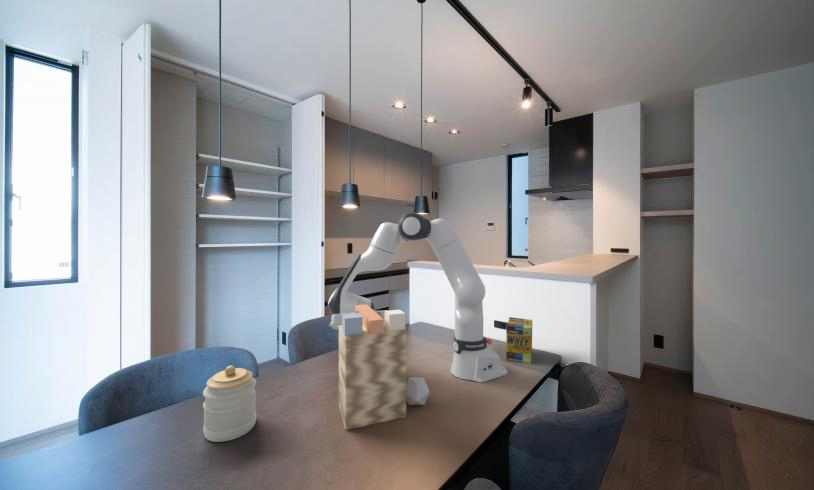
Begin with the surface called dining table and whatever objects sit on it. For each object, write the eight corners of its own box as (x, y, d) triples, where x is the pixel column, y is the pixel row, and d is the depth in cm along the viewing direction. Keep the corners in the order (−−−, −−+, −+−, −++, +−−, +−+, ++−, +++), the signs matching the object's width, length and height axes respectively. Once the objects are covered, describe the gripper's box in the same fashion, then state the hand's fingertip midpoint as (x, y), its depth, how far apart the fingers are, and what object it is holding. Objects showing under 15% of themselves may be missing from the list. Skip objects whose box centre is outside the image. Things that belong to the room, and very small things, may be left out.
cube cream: (399, 325, 99) (399, 309, 99) (405, 329, 94) (405, 313, 94) (384, 326, 97) (384, 310, 97) (389, 331, 92) (389, 314, 92)
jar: (219, 450, 79) (218, 380, 79) (194, 432, 86) (193, 369, 86) (266, 423, 90) (265, 363, 90) (240, 410, 97) (239, 353, 97)
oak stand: (392, 396, 106) (393, 320, 105) (406, 416, 94) (406, 330, 93) (338, 406, 99) (338, 325, 98) (345, 429, 88) (345, 337, 87)
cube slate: (358, 329, 94) (358, 313, 94) (362, 334, 90) (362, 317, 89) (342, 331, 92) (341, 314, 92) (344, 336, 88) (344, 318, 88)
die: (420, 415, 96) (436, 385, 99) (397, 398, 97) (413, 370, 100) (419, 410, 104) (434, 383, 107) (397, 395, 105) (412, 369, 108)
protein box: (505, 360, 137) (506, 325, 137) (508, 348, 151) (509, 316, 151) (531, 364, 133) (532, 328, 133) (532, 351, 147) (532, 319, 147)
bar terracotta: (366, 315, 110) (366, 304, 110) (383, 333, 91) (383, 319, 91) (355, 316, 109) (355, 305, 109) (370, 334, 89) (370, 320, 89)
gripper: (327, 317, 114) (332, 305, 102) (382, 313, 121) (391, 301, 110) (328, 335, 111) (333, 325, 100) (384, 329, 118) (394, 319, 107)
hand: (364, 312), depth 105 cm, fingers closed on bar terracotta, 4 cm apart
